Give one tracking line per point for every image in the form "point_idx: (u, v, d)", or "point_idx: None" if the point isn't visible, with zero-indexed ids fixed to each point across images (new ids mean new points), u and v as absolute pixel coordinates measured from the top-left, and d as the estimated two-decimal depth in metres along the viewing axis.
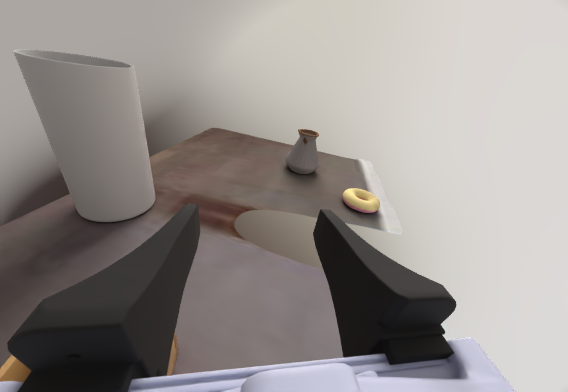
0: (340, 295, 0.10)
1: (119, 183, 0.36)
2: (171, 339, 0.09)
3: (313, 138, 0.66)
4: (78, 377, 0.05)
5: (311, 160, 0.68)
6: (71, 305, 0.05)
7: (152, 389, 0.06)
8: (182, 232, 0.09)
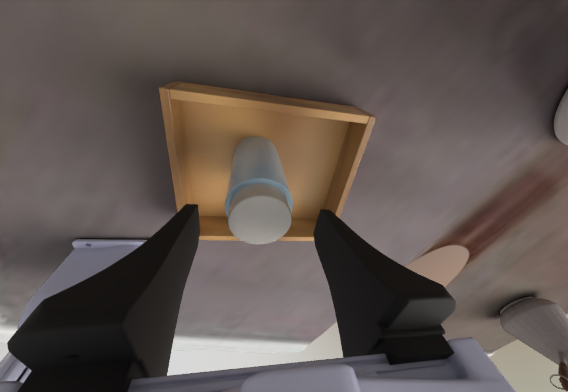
0: (340, 295, 0.10)
1: None
2: (171, 339, 0.09)
3: None
4: (78, 377, 0.05)
5: (521, 336, 0.45)
6: (71, 306, 0.05)
7: (152, 389, 0.06)
8: (182, 232, 0.09)
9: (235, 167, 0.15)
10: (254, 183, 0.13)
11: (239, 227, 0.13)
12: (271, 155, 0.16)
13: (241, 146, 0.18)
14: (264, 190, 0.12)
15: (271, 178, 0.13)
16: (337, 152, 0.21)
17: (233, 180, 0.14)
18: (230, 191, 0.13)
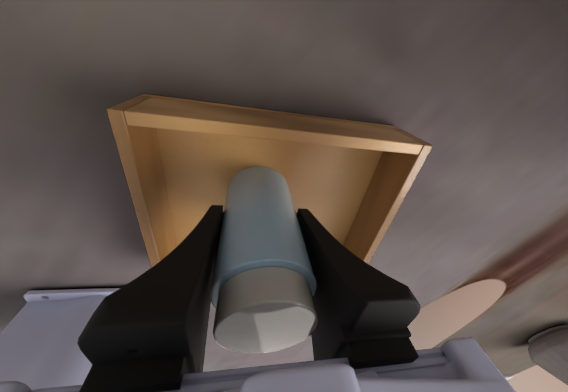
0: None
1: None
2: (205, 337, 0.09)
3: None
4: (136, 371, 0.06)
5: (555, 371, 0.40)
6: (133, 303, 0.05)
7: (203, 383, 0.06)
8: (214, 233, 0.10)
9: (228, 224, 0.10)
10: (258, 267, 0.08)
11: (232, 339, 0.08)
12: (281, 201, 0.11)
13: (238, 183, 0.13)
14: (274, 286, 0.07)
15: (286, 257, 0.08)
16: (365, 183, 0.16)
17: (224, 254, 0.09)
18: (218, 278, 0.08)
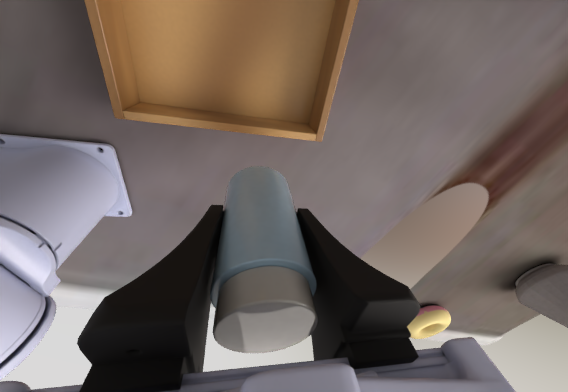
0: None
1: None
2: (205, 336, 0.09)
3: None
4: (136, 371, 0.06)
5: (541, 306, 0.40)
6: (133, 303, 0.05)
7: (203, 383, 0.06)
8: (214, 232, 0.10)
9: (228, 223, 0.10)
10: (258, 267, 0.08)
11: (232, 339, 0.08)
12: (281, 201, 0.11)
13: (238, 182, 0.13)
14: (274, 285, 0.07)
15: (285, 256, 0.08)
16: (330, 4, 0.15)
17: (224, 253, 0.09)
18: (218, 277, 0.08)
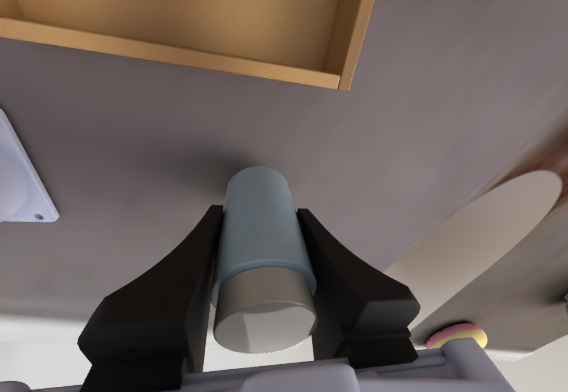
0: None
1: None
2: (205, 336, 0.09)
3: None
4: (137, 371, 0.06)
5: None
6: (133, 303, 0.05)
7: (203, 383, 0.06)
8: (214, 232, 0.10)
9: (228, 224, 0.10)
10: (258, 267, 0.08)
11: (232, 339, 0.08)
12: (281, 201, 0.11)
13: (238, 183, 0.13)
14: (274, 285, 0.07)
15: (285, 257, 0.08)
16: None
17: (224, 253, 0.09)
18: (218, 278, 0.08)
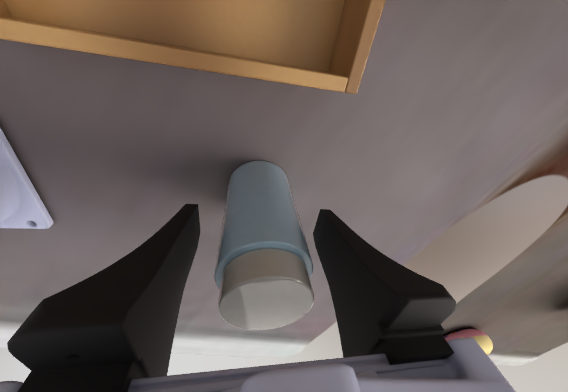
0: (340, 295, 0.10)
1: None
2: (171, 339, 0.09)
3: None
4: (78, 377, 0.05)
5: None
6: (71, 306, 0.05)
7: (152, 389, 0.06)
8: (182, 232, 0.09)
9: (231, 212, 0.11)
10: (259, 249, 0.09)
11: (235, 314, 0.08)
12: (280, 192, 0.12)
13: (240, 175, 0.13)
14: (273, 264, 0.08)
15: (284, 240, 0.09)
16: None
17: (227, 238, 0.09)
18: (222, 259, 0.09)
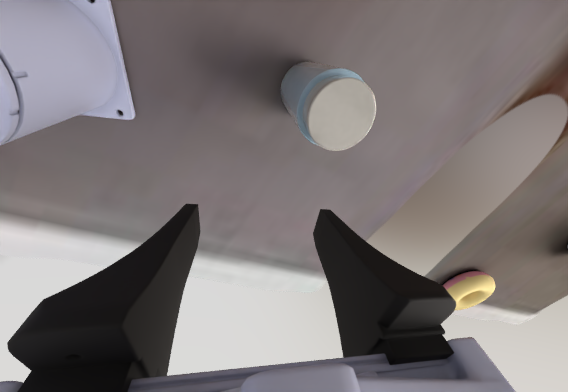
0: (340, 295, 0.10)
1: None
2: (171, 339, 0.09)
3: None
4: (78, 377, 0.05)
5: None
6: (71, 306, 0.05)
7: (152, 389, 0.06)
8: (182, 232, 0.09)
9: (300, 75, 0.14)
10: (335, 75, 0.12)
11: (318, 123, 0.11)
12: None
13: (296, 67, 0.16)
14: None
15: None
16: None
17: (306, 79, 0.12)
18: (307, 85, 0.12)
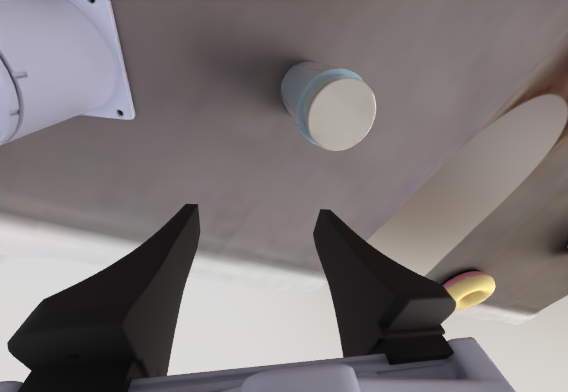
0: (340, 295, 0.10)
1: None
2: (171, 339, 0.09)
3: None
4: (78, 377, 0.05)
5: None
6: (71, 306, 0.05)
7: (152, 389, 0.06)
8: (182, 232, 0.09)
9: (300, 75, 0.14)
10: (335, 75, 0.12)
11: (318, 123, 0.11)
12: None
13: (296, 67, 0.16)
14: None
15: None
16: None
17: (306, 79, 0.12)
18: (307, 85, 0.12)
